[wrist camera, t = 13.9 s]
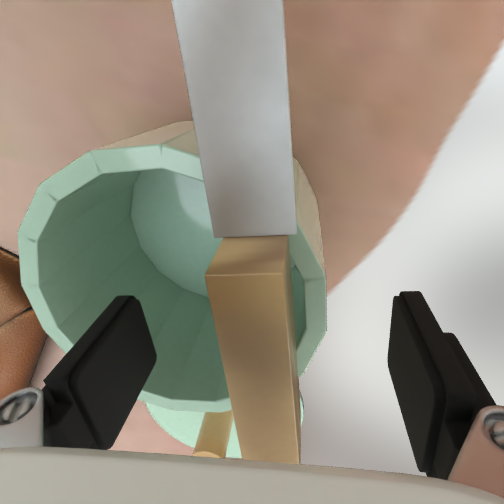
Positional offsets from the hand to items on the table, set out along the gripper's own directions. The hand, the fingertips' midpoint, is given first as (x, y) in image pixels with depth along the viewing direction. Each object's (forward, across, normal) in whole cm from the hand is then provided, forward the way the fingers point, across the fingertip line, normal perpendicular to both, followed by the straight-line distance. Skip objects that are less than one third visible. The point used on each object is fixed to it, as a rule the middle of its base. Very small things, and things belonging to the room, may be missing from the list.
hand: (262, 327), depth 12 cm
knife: (+1, 0, -3) cm, 3 cm away
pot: (+10, +4, 0) cm, 11 cm away
